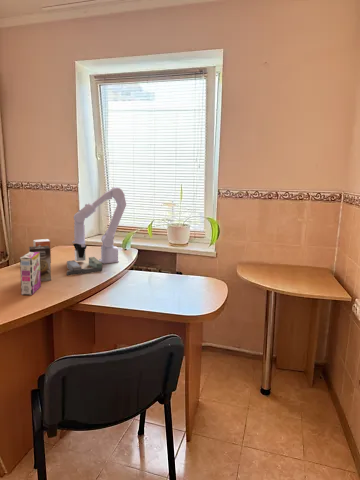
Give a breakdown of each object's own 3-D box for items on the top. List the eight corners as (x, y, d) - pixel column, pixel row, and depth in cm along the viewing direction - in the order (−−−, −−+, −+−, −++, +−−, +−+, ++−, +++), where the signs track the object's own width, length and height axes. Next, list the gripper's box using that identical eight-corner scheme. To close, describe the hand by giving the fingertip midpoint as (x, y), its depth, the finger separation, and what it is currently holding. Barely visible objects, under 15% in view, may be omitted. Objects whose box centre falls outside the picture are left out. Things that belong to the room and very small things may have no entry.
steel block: (83, 258, 195) (83, 248, 193) (85, 260, 191) (85, 250, 190) (74, 259, 192) (74, 249, 191) (76, 261, 189) (76, 251, 188)
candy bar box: (33, 295, 141) (31, 258, 137) (21, 295, 140) (18, 257, 137) (41, 286, 152) (40, 251, 148) (30, 286, 151) (28, 251, 148)
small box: (36, 264, 184) (35, 241, 181) (33, 262, 189) (32, 239, 186) (51, 263, 188) (50, 240, 186) (48, 260, 194) (48, 238, 191)
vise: (94, 264, 189) (94, 256, 188) (102, 271, 178) (102, 263, 177) (61, 268, 180) (61, 260, 179) (67, 275, 168) (67, 266, 167)
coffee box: (30, 282, 156) (29, 249, 153) (29, 278, 161) (28, 246, 158) (51, 280, 160) (50, 248, 157) (49, 276, 166) (48, 245, 162)
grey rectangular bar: (74, 266, 184) (74, 260, 183) (81, 273, 172) (81, 266, 171) (67, 267, 182) (66, 261, 181) (73, 274, 170) (73, 267, 169)
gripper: (69, 231, 192) (69, 254, 195) (75, 236, 180) (76, 260, 183) (81, 230, 196) (81, 253, 199) (88, 235, 184) (89, 259, 187)
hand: (80, 256), depth 191 cm, fingers closed on steel block, 4 cm apart
